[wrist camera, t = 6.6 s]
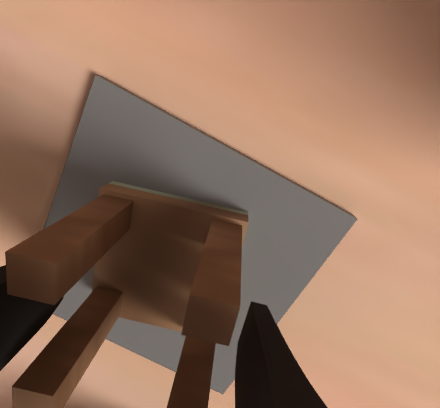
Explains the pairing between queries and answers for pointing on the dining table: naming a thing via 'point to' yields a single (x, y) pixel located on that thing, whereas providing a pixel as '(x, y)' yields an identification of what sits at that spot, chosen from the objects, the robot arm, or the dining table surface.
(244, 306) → the mat
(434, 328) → the dining table surface
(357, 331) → the dining table surface
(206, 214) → the stool
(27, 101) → the dining table surface
